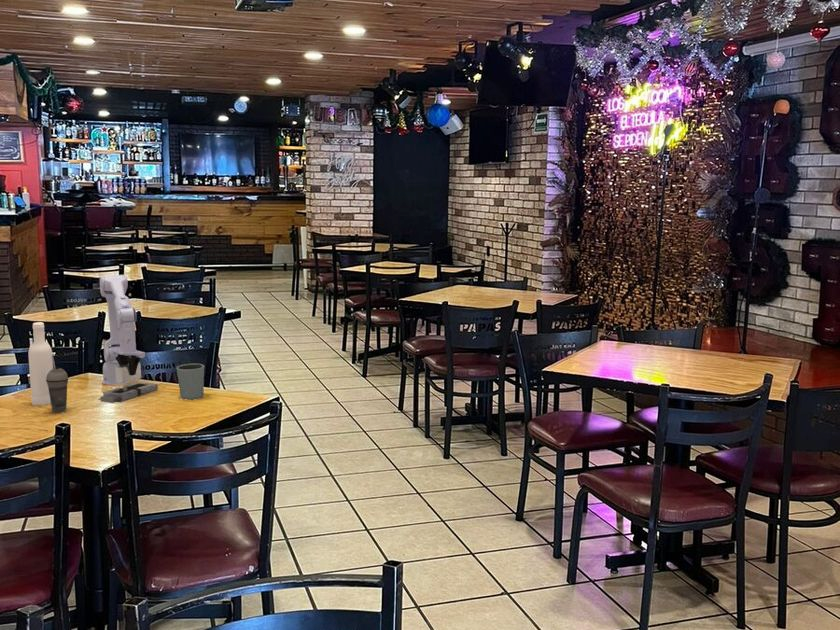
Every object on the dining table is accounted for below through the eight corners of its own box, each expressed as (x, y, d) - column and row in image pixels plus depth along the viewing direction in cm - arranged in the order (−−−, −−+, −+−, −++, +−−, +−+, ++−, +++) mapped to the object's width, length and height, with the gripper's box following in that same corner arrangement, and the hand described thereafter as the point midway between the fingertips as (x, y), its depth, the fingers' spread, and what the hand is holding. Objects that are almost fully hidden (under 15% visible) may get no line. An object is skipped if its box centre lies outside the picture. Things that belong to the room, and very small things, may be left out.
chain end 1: (97, 400, 296) (97, 394, 296) (119, 393, 306) (118, 387, 306) (116, 403, 293) (116, 397, 293) (137, 396, 303) (137, 390, 303)
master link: (115, 382, 300) (115, 367, 299) (134, 377, 309) (134, 362, 309) (122, 383, 299) (121, 368, 298) (141, 378, 308) (140, 362, 307)
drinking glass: (210, 396, 306) (209, 365, 304) (190, 401, 298) (189, 370, 296) (192, 392, 311) (191, 362, 309) (171, 397, 303) (170, 367, 301)
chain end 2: (122, 392, 308) (122, 386, 308) (142, 386, 318) (142, 380, 318) (141, 395, 305) (140, 389, 304) (160, 388, 315) (160, 382, 314)
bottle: (26, 404, 292) (21, 323, 287) (45, 399, 299) (40, 320, 294) (41, 407, 288) (35, 325, 283) (60, 402, 295) (55, 322, 290)
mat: (97, 400, 298) (97, 399, 298) (137, 387, 317) (137, 386, 317) (120, 403, 294) (120, 402, 294) (159, 390, 313) (159, 389, 313)
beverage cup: (64, 414, 280) (61, 358, 277) (44, 413, 280) (40, 358, 277) (74, 408, 287) (70, 353, 284) (53, 408, 288) (50, 353, 284)
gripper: (104, 339, 301) (106, 374, 303) (135, 342, 296) (136, 378, 298) (118, 336, 308) (120, 370, 310) (148, 339, 302) (149, 374, 304)
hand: (129, 374), depth 304 cm, fingers closed on master link, 3 cm apart
